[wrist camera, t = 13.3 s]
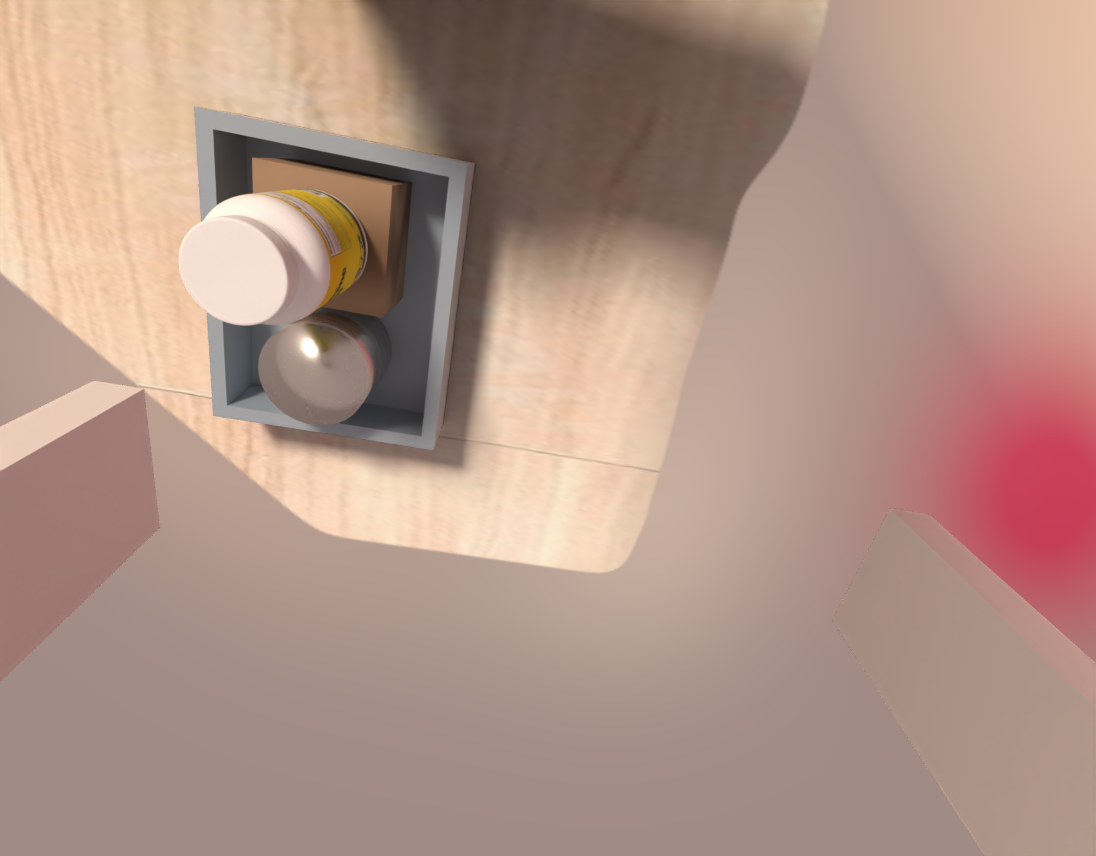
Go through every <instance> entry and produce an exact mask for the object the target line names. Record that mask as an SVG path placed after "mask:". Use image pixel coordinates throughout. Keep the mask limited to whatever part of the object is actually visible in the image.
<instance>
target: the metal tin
mask: <svg viewBox="0 0 1096 856" xmlns="http://www.w3.org/2000/svg"><path fill="white" fill-rule="evenodd" d="M391 354H392V348H391V341H390V338H389V335H388V333H387V330H386V329H385V327H384V325H383V324H382V322H381V321H380V320H379V319H378V318H377V317H376V316H371V315H365V314H359V313H354V312H348V311H342V310H337V309H331V308H326V307H320V308H319V309H317V310H316V311H314V312H313V313H311V314H310V315H309V316H307V317H305V318H303V319H301V320H298V321H295V322H292V323H290V324H289V325H287V326H286V327H284V328H283V329H281V330H280V331H278V332H277V333H275V334H274V335H273V336H271V337H270V338H269V339H268V341H267V342H266V343H265V345H264V346H263V348H262V350H261V353H260V356H259V361H258V371H259V378H260V382H261V384H262V387H263V389H264V391H265V393H266V395H267V396H268V397H269V399H270V400H271V401H272V403H273V404H274V405H275V406H276V407H277V408H278V409H279V410H281V411H282V412H283V413H285V414H286V415H288V416H289V417H291V418H293V419H295V420H297V421H300V422H303V423H306V424H311V425H319V426H322V425H333V424H336V423H339V422H342V421H344V420H346V419H348V418H349V417H351V416H352V415H353V414H354V413H355V412H356V411H357V410H358V409H359V408H360V406H361V405H362V404H363V402H364V401H365V399H366V398H367V397H368V395H369V394H370V393H371V391H372V390H373V388H374V387H375V386H376V384H377V383H378V382H379V380H380V379H381V377H382V376H383V375H384V373H385V372H386V370H387V368H388V366H389V364H390V360H391Z"/></svg>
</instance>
